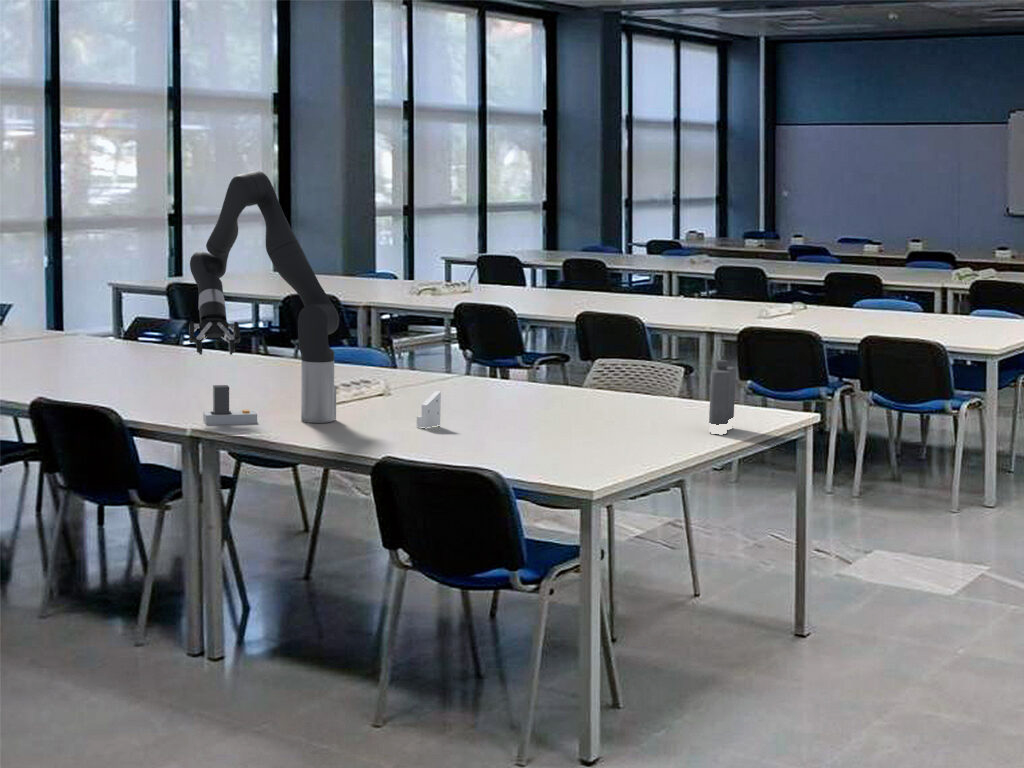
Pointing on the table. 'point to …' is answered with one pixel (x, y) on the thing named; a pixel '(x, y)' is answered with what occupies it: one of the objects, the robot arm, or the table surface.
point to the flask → (722, 393)
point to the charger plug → (220, 399)
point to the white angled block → (430, 411)
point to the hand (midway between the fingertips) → (216, 352)
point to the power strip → (230, 417)
